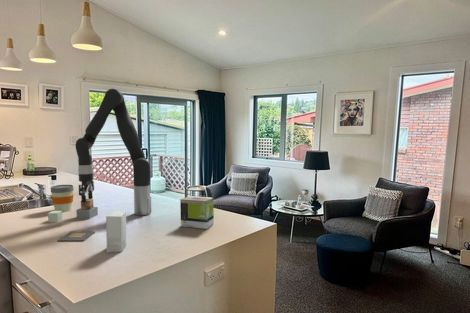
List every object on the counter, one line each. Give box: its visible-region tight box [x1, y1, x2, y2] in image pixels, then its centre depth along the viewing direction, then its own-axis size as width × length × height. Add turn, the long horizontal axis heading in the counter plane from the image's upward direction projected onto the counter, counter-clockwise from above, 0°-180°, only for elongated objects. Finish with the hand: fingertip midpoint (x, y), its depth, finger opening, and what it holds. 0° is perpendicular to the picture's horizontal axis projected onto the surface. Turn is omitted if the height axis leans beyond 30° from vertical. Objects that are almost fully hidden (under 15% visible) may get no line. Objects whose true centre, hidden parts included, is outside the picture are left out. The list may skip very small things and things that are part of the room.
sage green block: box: [47, 210, 63, 223], centre depth 174 cm, size 5×5×5 cm
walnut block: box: [80, 198, 94, 210], centre depth 181 cm, size 5×5×5 cm
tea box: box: [179, 195, 215, 230], centre depth 166 cm, size 15×10×15 cm
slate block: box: [76, 206, 99, 220], centre depth 182 cm, size 8×8×5 cm
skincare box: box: [105, 210, 127, 253], centre depth 134 cm, size 8×7×16 cm
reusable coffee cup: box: [50, 184, 75, 213], centre depth 195 cm, size 13×13×15 cm
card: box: [56, 230, 96, 242], centre depth 149 cm, size 12×12×1 cm
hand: (87, 200), depth 182 cm, fingers open, 8 cm apart
